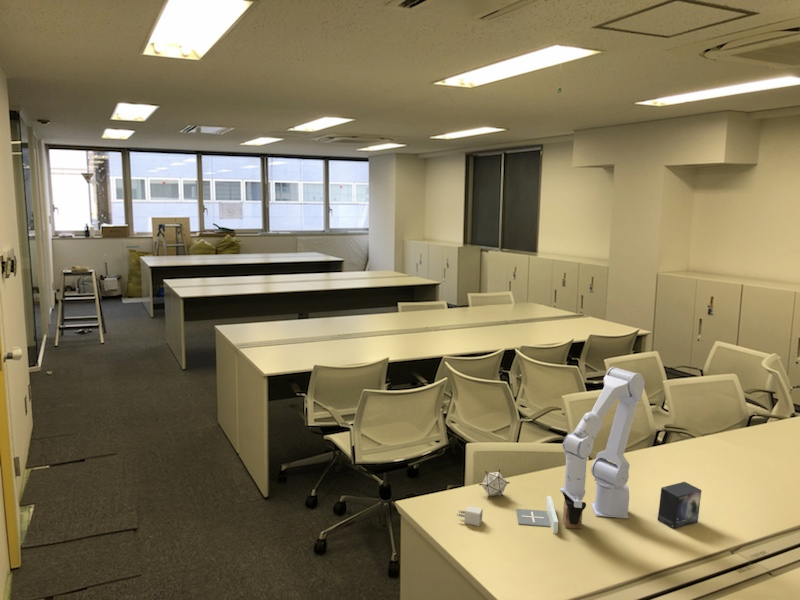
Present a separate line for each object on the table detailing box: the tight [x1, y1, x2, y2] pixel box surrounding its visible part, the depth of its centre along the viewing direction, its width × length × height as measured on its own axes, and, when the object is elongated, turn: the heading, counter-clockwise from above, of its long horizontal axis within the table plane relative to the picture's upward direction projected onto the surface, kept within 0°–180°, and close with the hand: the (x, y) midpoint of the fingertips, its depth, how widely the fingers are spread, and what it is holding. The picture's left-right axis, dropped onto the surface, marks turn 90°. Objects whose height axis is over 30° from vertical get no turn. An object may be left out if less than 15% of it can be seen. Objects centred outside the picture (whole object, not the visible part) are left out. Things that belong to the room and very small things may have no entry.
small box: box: [657, 481, 703, 530], centre depth 183 cm, size 11×6×10 cm, turn 117°
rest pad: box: [515, 508, 551, 528], centre depth 184 cm, size 9×9×1 cm
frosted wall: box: [545, 495, 559, 535], centre depth 183 cm, size 1×16×4 cm, turn 173°
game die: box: [478, 468, 511, 499], centre depth 197 cm, size 9×8×10 cm
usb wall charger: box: [456, 505, 484, 527], centre depth 180 cm, size 4×7×4 cm, turn 70°
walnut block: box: [562, 500, 583, 529], centre depth 180 cm, size 4×4×6 cm
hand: (572, 519), depth 180 cm, fingers closed on walnut block, 4 cm apart
